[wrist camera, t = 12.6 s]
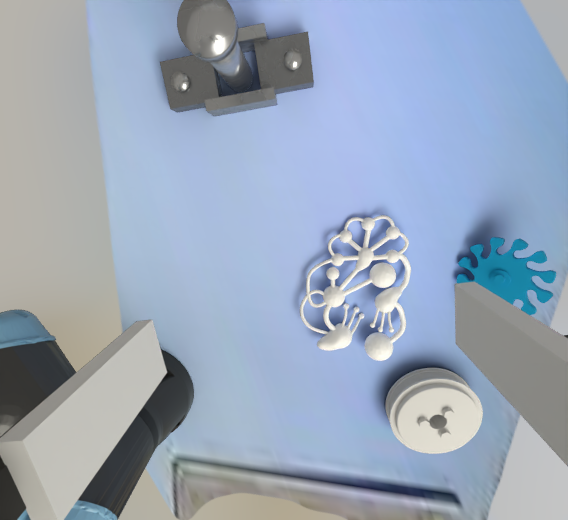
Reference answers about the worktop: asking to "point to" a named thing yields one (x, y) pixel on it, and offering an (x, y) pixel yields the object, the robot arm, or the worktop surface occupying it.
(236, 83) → the pin
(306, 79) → the bolted rod clamp
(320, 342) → the tangled rod sculpture
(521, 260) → the gear
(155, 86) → the worktop surface
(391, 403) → the lid
